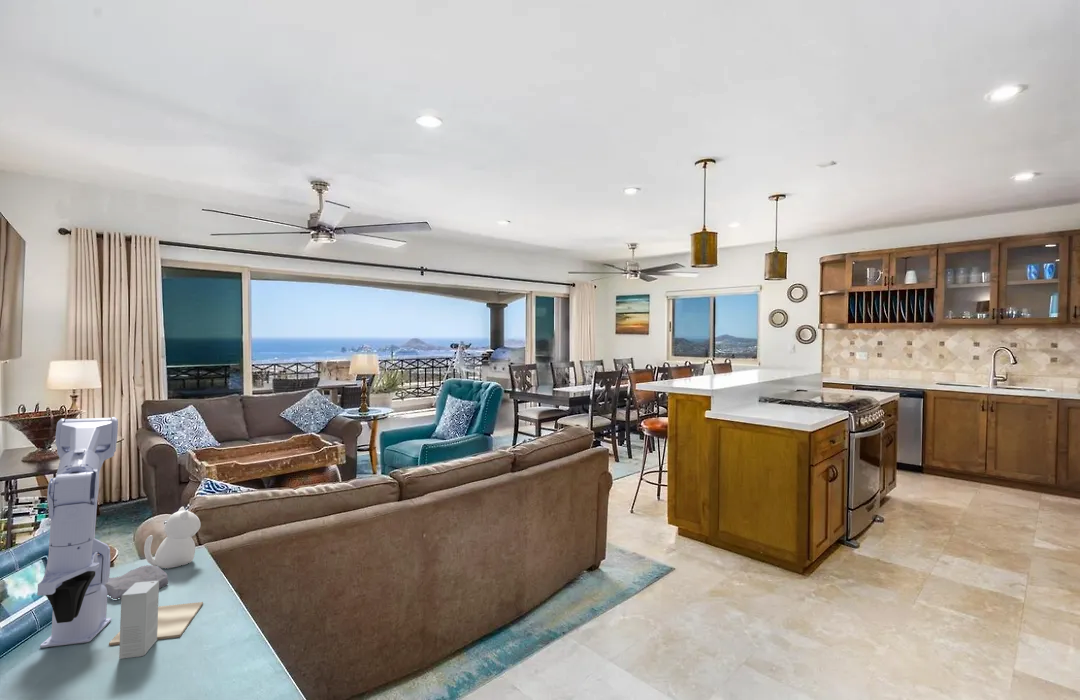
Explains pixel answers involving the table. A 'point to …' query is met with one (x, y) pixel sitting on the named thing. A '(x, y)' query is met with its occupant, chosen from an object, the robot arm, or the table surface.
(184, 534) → the cat figurine
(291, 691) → the table surface
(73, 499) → the robot arm
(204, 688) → the table surface
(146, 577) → the stone block
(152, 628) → the skincare box
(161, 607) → the birch board
